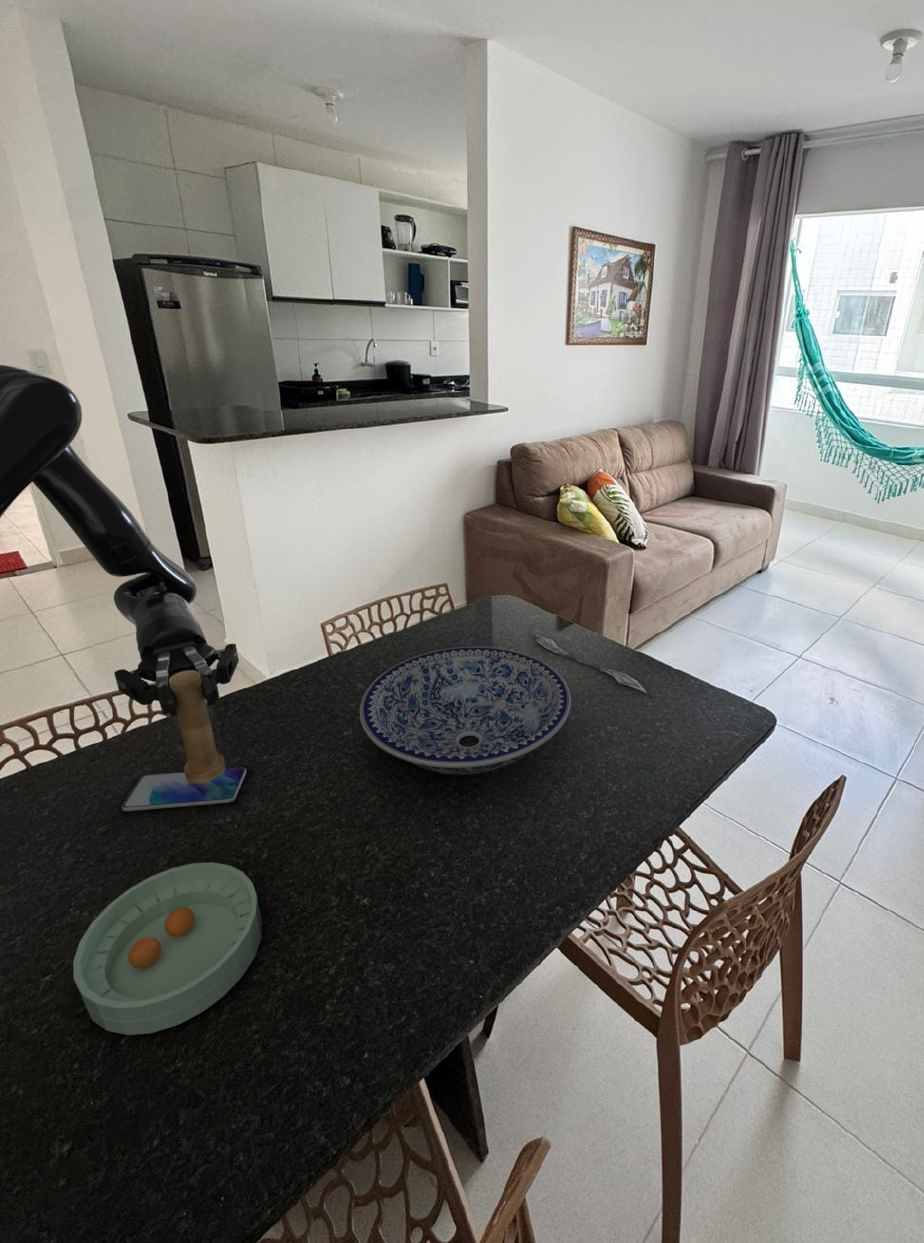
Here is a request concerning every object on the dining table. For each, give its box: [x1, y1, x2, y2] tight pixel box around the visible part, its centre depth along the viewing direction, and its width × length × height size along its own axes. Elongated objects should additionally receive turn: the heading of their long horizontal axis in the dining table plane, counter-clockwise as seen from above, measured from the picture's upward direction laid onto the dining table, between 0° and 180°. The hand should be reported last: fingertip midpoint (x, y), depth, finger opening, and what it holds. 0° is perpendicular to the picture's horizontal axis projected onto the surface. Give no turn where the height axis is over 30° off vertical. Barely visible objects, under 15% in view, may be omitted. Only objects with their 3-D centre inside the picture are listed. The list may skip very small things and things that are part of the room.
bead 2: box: [165, 907, 195, 936], centre depth 73 cm, size 3×3×3 cm
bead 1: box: [128, 937, 161, 969], centre depth 69 cm, size 3×3×3 cm
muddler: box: [169, 670, 226, 783], centre depth 76 cm, size 4×4×14 cm
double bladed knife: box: [533, 632, 647, 694], centre depth 133 cm, size 32×1×5 cm
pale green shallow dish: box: [72, 862, 263, 1036], centre depth 70 cm, size 17×17×5 cm
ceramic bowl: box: [359, 646, 572, 776], centre depth 106 cm, size 34×34×10 cm
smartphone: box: [121, 767, 247, 812], centre depth 94 cm, size 7×1×15 cm
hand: (191, 703), depth 72 cm, fingers closed on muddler, 3 cm apart
